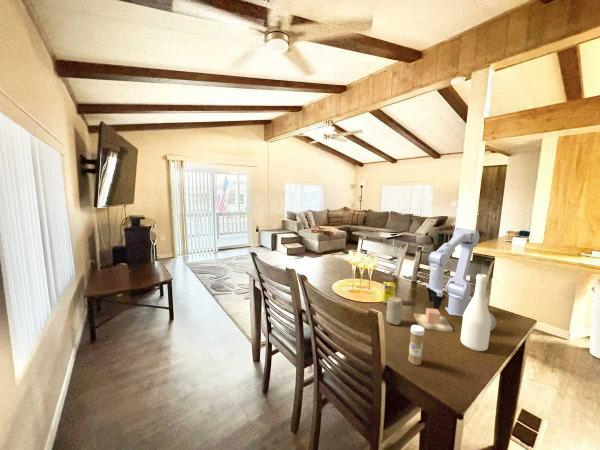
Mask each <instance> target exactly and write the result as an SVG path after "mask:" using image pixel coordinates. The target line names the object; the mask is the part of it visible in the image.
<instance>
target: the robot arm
mask: <svg viewBox="0 0 600 450" xmlns="http://www.w3.org/2000/svg"><path fill="white" fill-rule="evenodd" d="M479 240H480V232H479V230H478V229H468V228H462V227H461V228H460V227H456V228H455V229H454V230H453V235H452V237H451V238H450V240H449V241H448V242H445V243H443V244H442V245H441V246H440V247H438V249H437V250H436V251H431V252H430V253H429V256H428V262H429V263H428V264H429V268H430V269H429V270H430V271H429V278H428V279H429V280H428V281H429V282H428V284H426V285H425V288H426V291H427V295H428V301H429V303H432V307H433V309H438V310H439V309H440V308H441V305H442V303H443V301H444V300H445V299H446V296H445V294H443V291H444V290H443V289H444V287H443V285H444V276H445V266H446V265H447V264H448V261H449V260H450V257H451V256H452V255H453V254H454V253H455V252H456V247H458V246H459V245H460V246H461V249H460V253H459V258H458V262H457V266H456V270H455V275H454V276H453V277H451V278H450V277H449V278H448V280H447V283H446V285H445V291H446V293H447V296H448V301H447V302H448V304H447V305H448V306H445V307H444V309H445V310H446V312H447V313H448V314H449V315H450V316H459V317H463V314H464V312H465V310H466V308H467V307H468V305H469V303H470V301H471V298H470V296H471V288H472V285H471V283H470V282H469V281H468V279H467V276H468V272H469V268H470V264H471V260H472V255H473V251H474V249H475V248H477V247H478V245H479Z"/></svg>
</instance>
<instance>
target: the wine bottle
mask: <svg viewBox="0 0 600 450" xmlns="http://www.w3.org/2000/svg"><path fill="white" fill-rule="evenodd" d="M475 280H476V282H475V288H474V289H475V290H474V294H473V296H472V298H471V299H470V303H469V305H468V307H467V308H466V310H465V312H464V314H463V316H462V321H461V322H462V323H461V331H460V339H459V340H460V342H461V344H462V345H463V346H464V347H466V348H468V349H470V350H473V351H476V352H484V351H487V350H488V348H489V343H490V335H491V331H490V328H491V318H490V314H489V313H490V310H489V307H488V304H487V299H486V289H487V288H486V287H487V282H488V276H487V274H482V273H477V274H476V276H475Z"/></svg>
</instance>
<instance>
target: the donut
mask: <svg viewBox="0 0 600 450" xmlns="http://www.w3.org/2000/svg"><path fill="white" fill-rule="evenodd" d="M489 314H490V318H491V328H490V332H491V331H492V330H494V329H495V328H496V326H497V319H496V318H495V316H494V315H493V314H492V313H491V312H489Z"/></svg>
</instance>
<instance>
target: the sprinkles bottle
mask: <svg viewBox="0 0 600 450" xmlns="http://www.w3.org/2000/svg"><path fill="white" fill-rule="evenodd" d="M424 335H425V328H423V327H421V326H419V325H418V324H412V325H411V326H410V340H409V346H408V348H409V349H408V351H409V352H408V358H407V359H408V361H409V363H411V364H412V365H414V366H415V365H416V366H419V365H421V364H422V356H423V347H424V337H425V336H424Z"/></svg>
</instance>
